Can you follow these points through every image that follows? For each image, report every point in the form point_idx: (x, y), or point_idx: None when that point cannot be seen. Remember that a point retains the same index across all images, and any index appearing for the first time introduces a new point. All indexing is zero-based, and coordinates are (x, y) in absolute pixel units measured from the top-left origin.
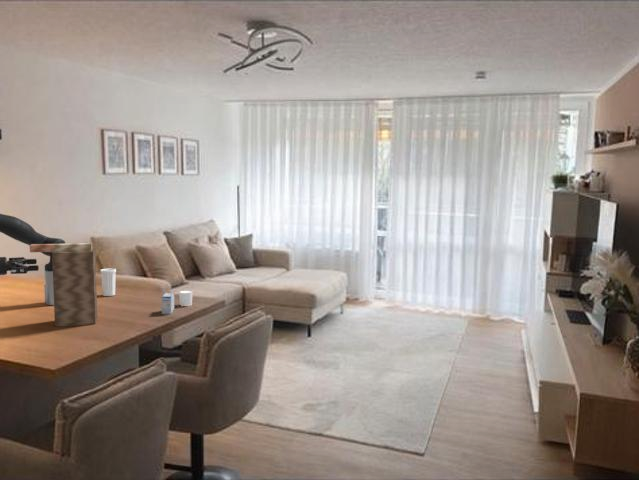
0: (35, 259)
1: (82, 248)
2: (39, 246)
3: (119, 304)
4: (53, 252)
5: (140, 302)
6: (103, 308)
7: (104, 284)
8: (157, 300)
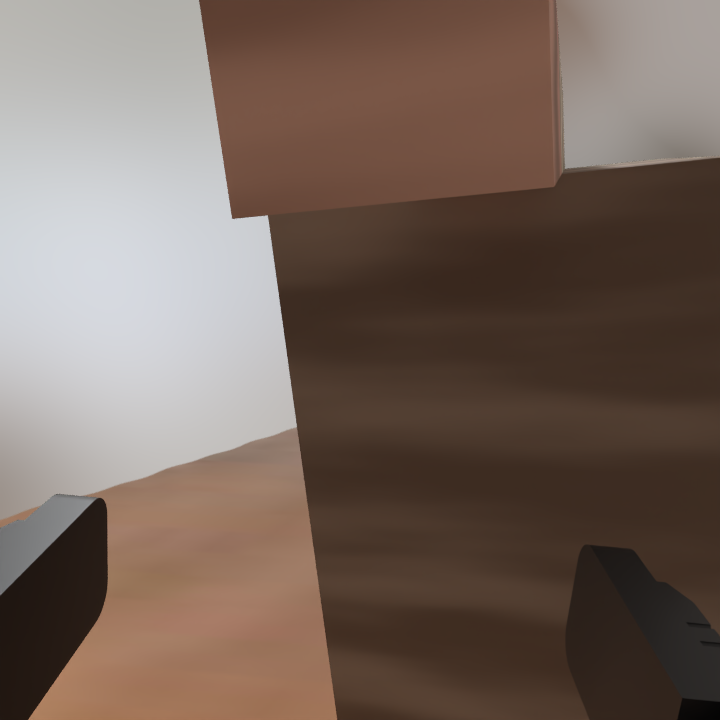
0: (97, 500)
1: (563, 138)
2: (554, 3)
3: (184, 606)
4: (667, 162)
5: (222, 541)
6: (211, 676)
7: None
8: (239, 500)
